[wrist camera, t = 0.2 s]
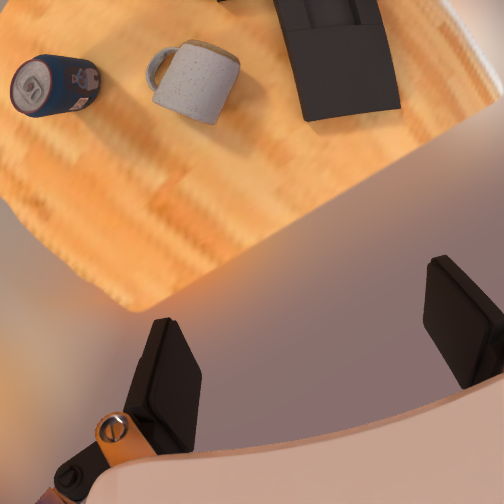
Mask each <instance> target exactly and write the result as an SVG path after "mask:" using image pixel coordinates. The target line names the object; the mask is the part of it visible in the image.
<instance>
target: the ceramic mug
mask: <svg viewBox="0 0 504 504" xmlns="http://www.w3.org/2000/svg"><path fill="white" fill-rule="evenodd" d="M172 53H176V54H175V56H174V57H173V59H172V62H171V64H170V66H169V68H168V69H167V71H166V73H165V75H164V77H163V78H162V80H161V82H160V84H159V86H158V87H157V85H156V84H155V80H154V77H155V73H156V71H157V69H158V67H159V66H160V64H161V62H162V61H163V60H164V58H165V57H166V56H168V55H170V54H172ZM239 70H240V61H239V59H238V58H237V57H235V56H234V55H232V54H231V53H229V52H227V51H225V50H223V49H221V48H219V47H216V46H214V45H211V44H208V43H205V42H201V41H197V40H189V41H186V42H185V43H183V45H182V46H181V47H180V48H178V47H168V48H164V49H163V50H161V51H159V52H158V53H157V54H156V55H155V56H154V57H153V58H152V60H151V61H150V63H149V65H148V67H147V70H146V80H147V83H148V85H149V87H150V88H151V89H152V90H153V91H154V92H155V94H154V96H153V99H152V101H153V102H154V103H156V104H158V105H160V106H162V107H165V108H167V109H169V110H172V111H175V112H177V113H180V114H182V115H185V116H188V117H190V118H192V119H195V120H198V121H201V122H204V123H207V124H211V125H214V124H215V123H216V122H217V119H218V117H219V115H220V112H221V110H222V108H223V106H224V104H225V102H226V99H227V97H228V95H229V93H230V91H231V89H232V87H233V84H234V82H235V80H236V78H237V76H238V73H239Z"/></svg>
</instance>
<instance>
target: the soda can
mask: <svg viewBox="0 0 504 504" xmlns="http://www.w3.org/2000/svg"><path fill="white" fill-rule="evenodd" d="M99 88H100V74H99V71H98V69H97V67H96V66H95V65H94V64H93V63H92V62H90V61H88V60H84V59H77V58H71V57H64V56H56V55H47V54H44V55H39V56H36V57H34V58H33V59H31V60H29V61H26V62H25V63H23V64H22V65H21V66H20V67H19V68H18V69H17V71H16V72H15V74H14V76H13V79H12V81H11V86H10V99H11V102H12V104H13V106H14V108H15V109H16V110H17V111H19V112H21V113H24V114H25V115H27V116H29V117H33V118H37V117H43V116H48V115H54V114H60V113H66V112H72V111H79V110H82V109H84V108H86V107H87V106H89V105H90V104H91V103H92V102H93V100H94V99H95V98H96V96H97V94H98V91H99Z"/></svg>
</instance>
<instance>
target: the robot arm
mask: <svg viewBox="0 0 504 504" xmlns="http://www.w3.org/2000/svg"><path fill="white" fill-rule="evenodd" d="M423 324H424V327H425V329H426V330H427V332H428V333H429V335H430V337H431V338H432V340H433V341H434V343H435V344H436V346H437V348H438V349H439V351H440V353H441V354H442V356H443V358H444V359H445V361H446V363H447V364H448V366H449V368H450V369H451V371H452V373H453V374H454V376H455V378H456V379H457V381H458V383H459V385H460V386H461V388H462V389H465V390H463V391H460V392H458V393H455V394H453V395H450V396H448V397H446V398H443V399H440V400H438V401H435V402H433V403H430V404H427V405H425V406H422V407H419V408H416V409H413V410H411V411H408V412H405V413H402V414H399V415H395V416H392V417H389V418H386V419H383V420H379V421H376V422H372V423H369V424H365V425H362V426H358V427H354V428H350V429H346V430H342V431H338V432H334V433H330V434H325V435H321V436H316V437H311V438H306V439H300V440H295V441H290V442H284V443H278V444H272V445H265V446H257V447H250V448H241V449H231V450H221V451H210V452H198V453H197V452H196V453H189V452H193V450H194V443H195V434H196V425H197V416H198V406H199V398H200V390H201V381H202V374H201V370H200V368H199V366H198V364H197V362H196V360H195V358H194V356H193V354H192V352H191V350H190V348H189V346H188V344H187V342H186V340H185V338H184V336H183V334H182V331H181V329H180V327H179V325H178V323H177V321H172V319H171V318H169V317H168V318H163V319H157V320H154V322H153V325H152V328H151V331H150V334H149V336H148V339H147V342H146V345H145V348H144V351H143V354H142V357H141V358H140V360H139V362H138V365H137V368H136V371H135V374H134V377H133V380H132V384H131V386H130V390H129V393H128V396H127V400H126V403H125V406H124V409H123V412H113V413H110V414H108V415H106V416H105V417H104V418H102V419H101V421H100V422H99V423H98V425H97V427H96V429H95V437H96V440H97V441H95V442H94V443H92V444H91V445H90V446H88V447H87V448H85V449H84V450H83V451H81V452H80V453H78V454H77V455H76V456H74V457H72V458H71V459H70V460H68V461H67V462H65V463H64V464H62V465H61V466H60V467H59V468H58V470H57V471H56V474H55V476H54V485H55V487H54V488H53V489H52V488H50V487H49V489H48V490H47V491H46V492H45V493H44V494H43V495H42V496H41V498H40V499H39V500H38V501H37V502H36V503H35V504H504V314H503V313H502V312H501V310H500V309H499V308H498V307H497V306H496V305H495V304H494V303H493V302H492V301H491V299H490V298H489V297H488V296H487V295H486V294H485V293H484V292H483V291H482V290H481V289H480V288H479V287H478V286H477V285H476V284H475V283H474V282H473V281H472V280H471V279H470V278H469V277H468V276H467V274H466V273H464V271H462V270H461V269H460V268H459V267H458V266H457V265H456V264H455V263H454V262H453V261H452V260H451V259H450V258H449V257H448V256H447V255H442V256H438V257H435V258H432V259H431V262H430V263H429V264H428V265H427V279H426V292H425V305H424V314H423Z"/></svg>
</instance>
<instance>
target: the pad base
mask: <svg viewBox="0 0 504 504" xmlns="http://www.w3.org/2000/svg"><path fill="white" fill-rule="evenodd" d="M273 1H274V4H275V8H276V11H277V15H278V18H279V22H280V25H281V29H282V32H283V36H284V40H285V43H286V47H287V51H288V55H289V59H290V62H291V66H292V70H293V74H294V79H295V83H296V87H297V91H298V95H299V100H300V104H301V109H302V113H303V118H304V120H305V121H308V122H310V121H316V120H321V119H327V118H333V117H340V116H346V115H353V114H360V113H368V112H375V111H384V110H393V109H401V105H400V99H399V93H398V87H397V82H396V77H395V72H394V67H393V62H392V58H391V53H390V49H389V45H388V41H387V37H386V33H385V29H384V25H383V22H382V18H381V14H380V11H379V8H378V4H377V1H376V0H273Z"/></svg>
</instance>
